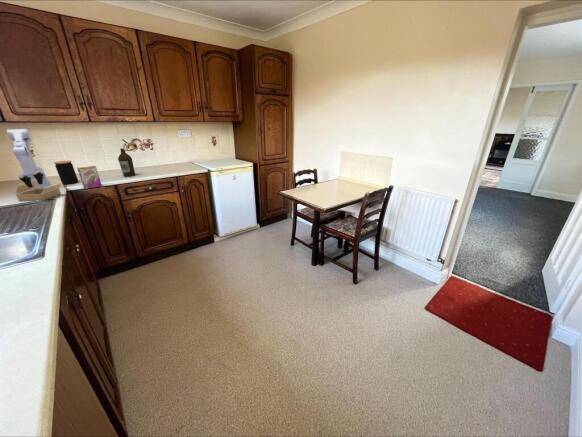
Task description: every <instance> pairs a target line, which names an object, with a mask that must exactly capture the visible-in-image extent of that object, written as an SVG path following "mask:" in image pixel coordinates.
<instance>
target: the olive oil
mask: <svg viewBox="0 0 582 437" xmlns="http://www.w3.org/2000/svg"><path fill="white" fill-rule="evenodd" d="M119 149H120V154H119V156H117V158H118V159H117V160H118V163H119V166H120V168H121V169H120V170H121V172H122V175H123V178H132V177H135V176H136V173H135V172H136V171H135V167H134V163H133V162H134V161H133V158H132V156H131V155H130V154H128V153H127V152H126V150H125V148H123V147H122V148H119Z"/></svg>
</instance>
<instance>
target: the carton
mask: <svg viewBox="0 0 582 437" xmlns="http://www.w3.org/2000/svg"><path fill="white" fill-rule="evenodd" d="M43 190H44V189H30V190H27V191H24V192H20V193H17V194H16V193H15V195H16V198H17V200H18V202H37V201H36V200H44V201H47V200H50V199H52V198H55V197H57V196H58V197H59V196H60V194H61V195H62V193H61V191H60V187H59V188H58V189H55V190H51V191H48V192H45V193H42V192H43ZM49 198H50V199H49ZM46 199H47V200H46Z"/></svg>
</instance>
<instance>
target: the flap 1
mask: <svg viewBox="0 0 582 437" xmlns="http://www.w3.org/2000/svg"><path fill="white" fill-rule="evenodd" d="M31 183H32V186H33V187H30V188H29V187H28V186H27V185H26V184H25V183H22V184H17V185H16V187H15V195H16V194H20V193H23V192H26V191H30V190H33V189H34V188H35V184H36V181H32V182H31Z"/></svg>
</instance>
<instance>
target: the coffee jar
mask: <svg viewBox="0 0 582 437" xmlns="http://www.w3.org/2000/svg"><path fill="white" fill-rule="evenodd" d="M53 164H54V166H55V169H56V171H57V174H58V177H59V180H60V183H61V182H63V183H62V184H61V185H65V186H67V185H75V184H77V183H79V179H78V176H77V173H76V170H75V168H74V165H73V163H72V160H58V161H54V162H53Z"/></svg>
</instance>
